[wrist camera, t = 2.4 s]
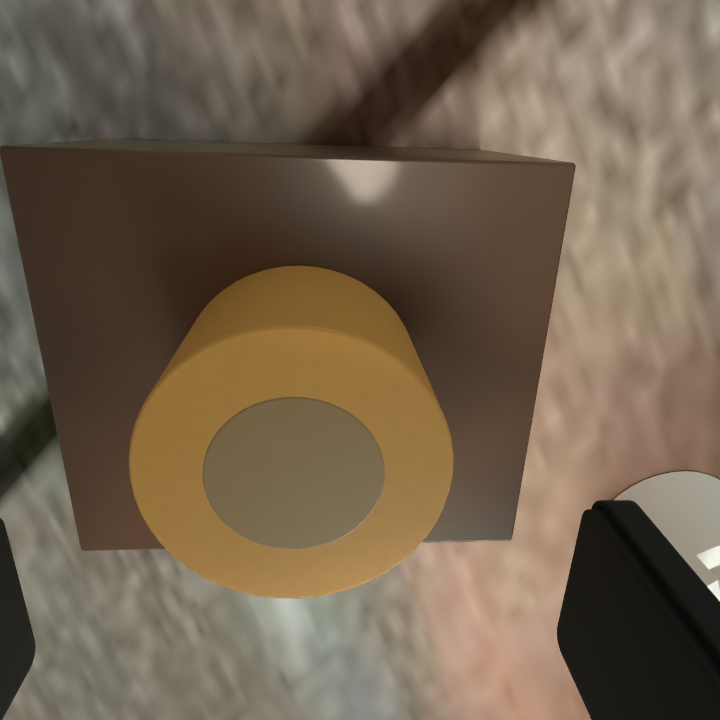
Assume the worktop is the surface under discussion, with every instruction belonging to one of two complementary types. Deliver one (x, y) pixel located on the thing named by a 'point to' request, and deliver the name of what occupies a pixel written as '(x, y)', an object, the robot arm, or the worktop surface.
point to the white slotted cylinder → (685, 518)
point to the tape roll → (292, 439)
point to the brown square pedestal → (277, 249)
